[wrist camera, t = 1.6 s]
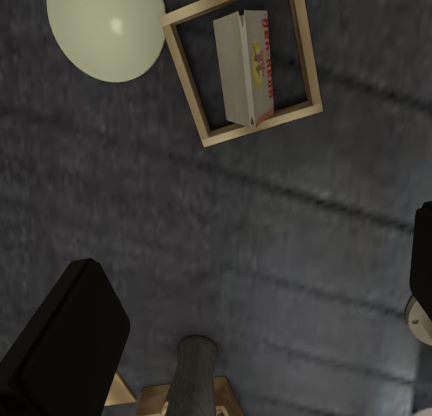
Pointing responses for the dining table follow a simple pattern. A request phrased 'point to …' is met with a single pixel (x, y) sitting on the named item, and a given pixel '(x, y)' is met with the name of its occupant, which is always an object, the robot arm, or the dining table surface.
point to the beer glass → (192, 379)
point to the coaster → (109, 35)
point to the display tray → (156, 395)
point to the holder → (313, 105)
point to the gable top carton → (245, 66)
